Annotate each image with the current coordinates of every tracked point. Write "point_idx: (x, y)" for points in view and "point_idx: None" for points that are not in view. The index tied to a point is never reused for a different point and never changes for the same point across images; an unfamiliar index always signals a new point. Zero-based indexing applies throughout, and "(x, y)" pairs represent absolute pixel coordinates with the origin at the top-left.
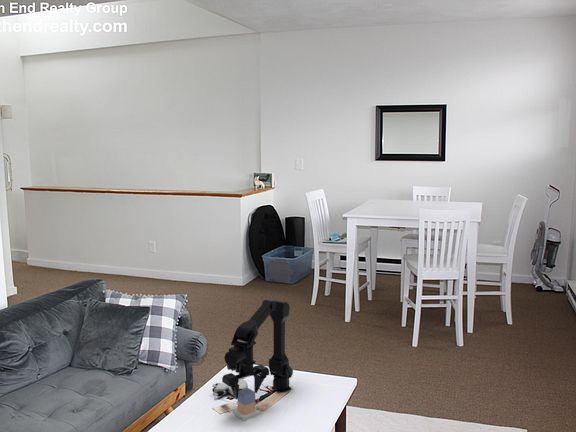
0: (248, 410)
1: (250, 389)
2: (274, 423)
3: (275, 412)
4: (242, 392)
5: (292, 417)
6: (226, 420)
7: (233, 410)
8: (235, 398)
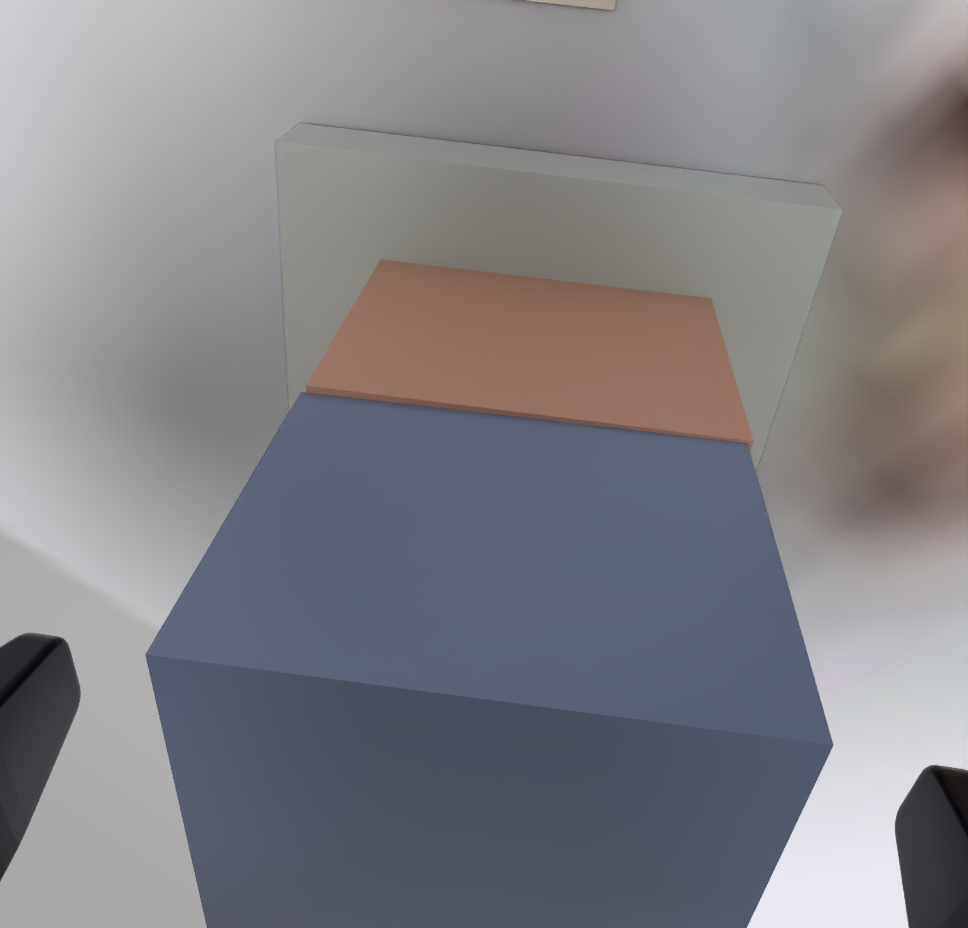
0: None
1: (760, 885)
2: None
3: (952, 688)
4: (288, 835)
5: None
6: (34, 312)
7: (289, 186)
8: (29, 644)
